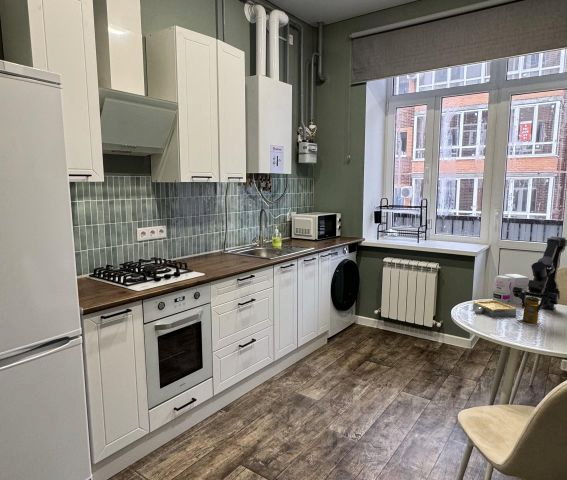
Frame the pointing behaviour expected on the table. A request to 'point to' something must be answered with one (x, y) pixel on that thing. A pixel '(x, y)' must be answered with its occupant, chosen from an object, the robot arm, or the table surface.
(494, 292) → the supplement can
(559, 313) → the table surface
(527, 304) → the condiment
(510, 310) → the gold square tray
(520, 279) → the supplement box
